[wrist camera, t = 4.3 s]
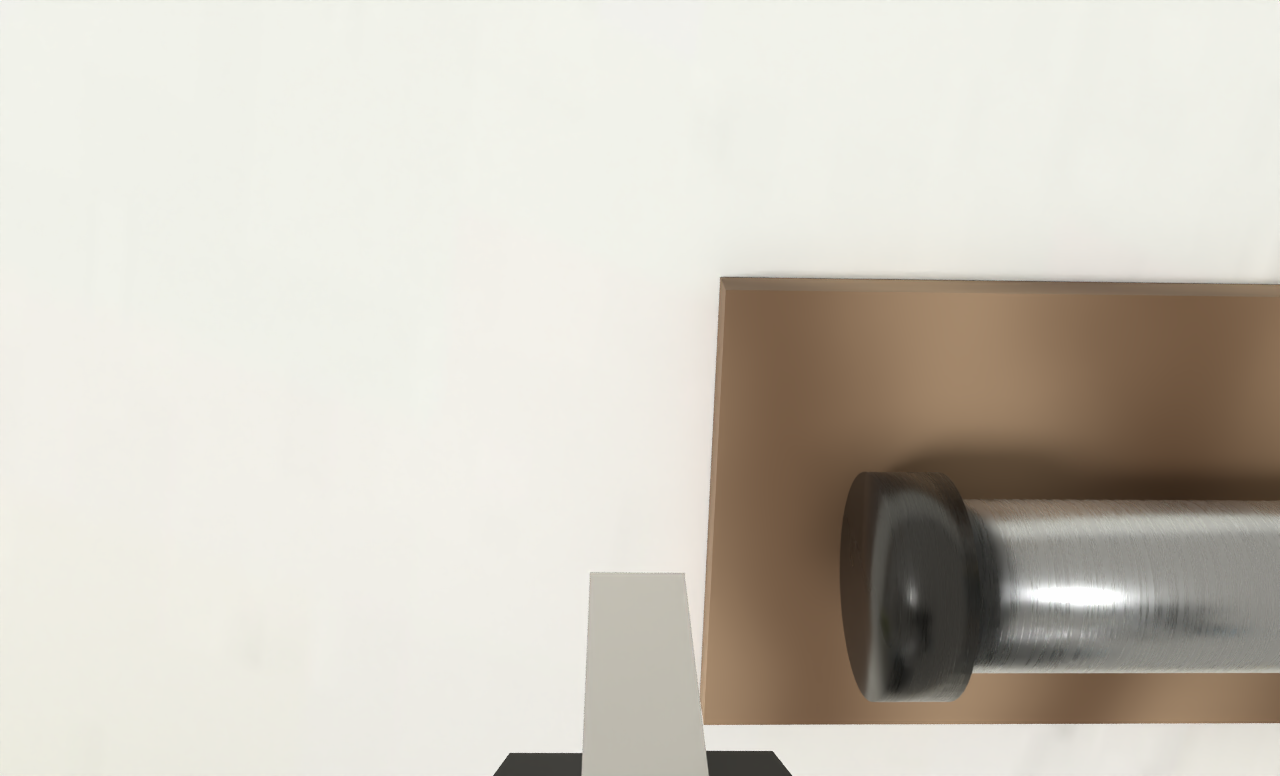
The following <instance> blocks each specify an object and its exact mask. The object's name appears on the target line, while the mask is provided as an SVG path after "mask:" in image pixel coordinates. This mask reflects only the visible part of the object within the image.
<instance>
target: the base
mask: <svg viewBox="0 0 1280 776" xmlns="http://www.w3.org/2000/svg"><path fill="white" fill-rule="evenodd" d="M861 472H940V473H943V474H945V475H946V476H948V477H949V478H950V479H951V480H952V482H953V483H954V484H955V486H956V488H957V489H958V491H959V493H960V495H961V497H962V499H1045V500H1236V501H1280V285H1263V284H1188V283H1112V282H1037V281H961V280H886V279H811V278H735V277H720V295H719V315H718V336H717V356H716V377H715V397H714V417H713V438H712V458H711V479H710V499H709V520H708V540H707V561H706V581H705V602H704V622H703V643H702V663H701V684H700V702H701V709H702V716H703V723H704V725H790V724H1122V723H1280V673H972V675H971V677H970V680H969V683H968V685H967V687H966V689H965V691H964V692H963V693H962V695H961V696H960V697H959V698H958V699H956V700H955V701H952V702H870V701H868V700H867V699H866V698H865V697H864V696H863V695H862V693H861V691H860V689H859V688H858V685H857V683H856V681H855V678H854V675H853V672H852V668H851V665H850V661H849V657H848V652H847V647H846V641H845V635H844V628H843V620H842V610H841V597H840V543H841V531H842V522H843V516H844V509H845V505H846V500H847V497H848V493H849V490H850V487H851V485H852V483H853V481H854V479H855V478H856V476H857V475H858V474H860V473H861Z"/></svg>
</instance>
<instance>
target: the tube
mask: <svg viewBox="0 0 1280 776" xmlns="http://www.w3.org/2000/svg"><path fill="white" fill-rule="evenodd" d="M840 597H841V610H842V620H843V628H844V635H845V641H846V647H847V652H848V657H849V661H850V665H851V668H852V672H853V675H854V678H855V681H856V683H857V685H858V688H859V689H860V691H861V693H862V695H863V696H864V697H865V698H866V699H867V700H868V701H870V702H952V701H955V700H956V699H958V698H959V697H960V696H961V695H962V693H963V692H964V691H965V689H966V687H967V685H968V683H969V680H970V677H971V675H972V673H1280V501H1236V500H1045V499H962V497H961V495H960V493H959V491H958V489H957V488H956V486H955V484H954V483H953V482H952V480H951V479H950V478H949V477H948V476H946V475H945V474H943V473H940V472H861V473H860V474H858V475H857V476H856V478H855V479H854V481H853V483H852V485H851V487H850V490H849V493H848V497H847V500H846V505H845V509H844V516H843V522H842V531H841V543H840Z"/></svg>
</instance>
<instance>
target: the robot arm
mask: <svg viewBox="0 0 1280 776" xmlns="http://www.w3.org/2000/svg"><path fill="white" fill-rule="evenodd" d="M493 776H792V775H791V774H790V772H789V771H788V770H787V769H786V767H785V766H784V765H783V764H782V762H781V761H780V760H779V759H778V757H777V756H776V755H775V754H774V752H773V751H706V748H705V740H704V732H703V724H702V715H701V707H700V699H699V690H698V682H697V674H696V665H695V657H694V649H693V640H692V632H691V624H690V616H689V607H688V599H687V591H686V582H685V574H684V573H599V572H590V587H589V611H588V635H587V658H586V682H585V706H584V729H583V753H509V755H508V756H507V758H506V759H505V760H504V762H503V763H502V764H501V766H500V767H499V769H498V770H497V771H496V773H495V774H494V775H493Z"/></svg>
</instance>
